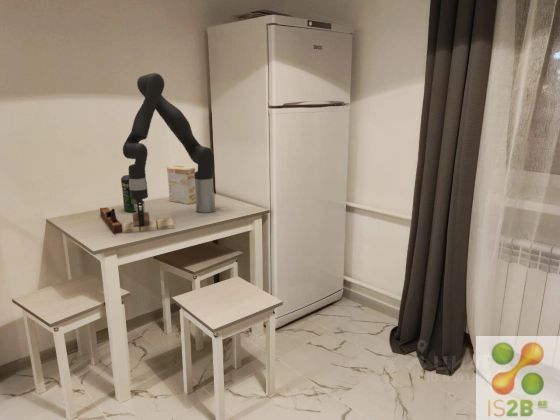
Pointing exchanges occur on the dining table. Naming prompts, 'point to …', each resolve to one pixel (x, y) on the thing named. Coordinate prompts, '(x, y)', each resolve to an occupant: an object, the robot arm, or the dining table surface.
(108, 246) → the dining table surface
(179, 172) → the coffeecake box
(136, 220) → the block
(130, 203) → the coffee jar
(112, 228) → the hand plane
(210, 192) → the robot arm
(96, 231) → the dining table surface
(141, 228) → the board
